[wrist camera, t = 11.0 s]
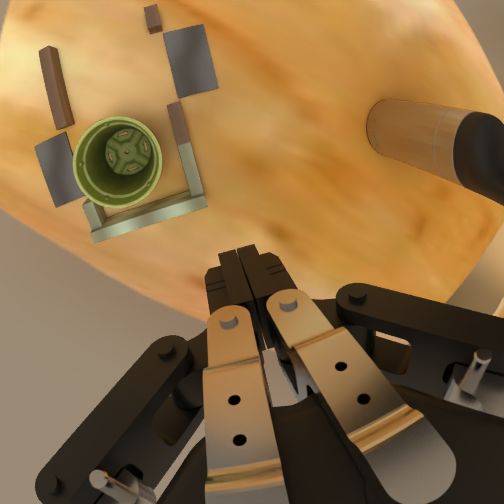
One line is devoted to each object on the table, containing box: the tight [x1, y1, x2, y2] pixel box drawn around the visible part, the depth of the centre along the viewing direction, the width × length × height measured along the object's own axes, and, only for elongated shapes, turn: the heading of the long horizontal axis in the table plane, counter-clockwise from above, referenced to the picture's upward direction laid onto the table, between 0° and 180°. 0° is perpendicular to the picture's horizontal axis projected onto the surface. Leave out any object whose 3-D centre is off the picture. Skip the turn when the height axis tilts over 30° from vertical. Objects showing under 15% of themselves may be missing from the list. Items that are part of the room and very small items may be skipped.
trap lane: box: [35, 4, 218, 243], centre depth 31 cm, size 25×26×4 cm
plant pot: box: [73, 116, 162, 208], centre depth 31 cm, size 9×9×9 cm
